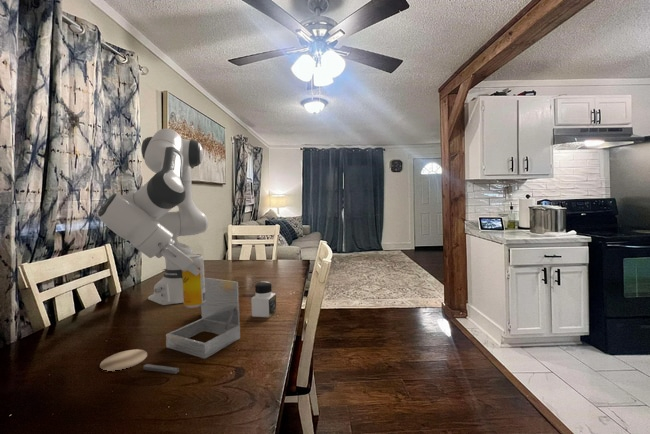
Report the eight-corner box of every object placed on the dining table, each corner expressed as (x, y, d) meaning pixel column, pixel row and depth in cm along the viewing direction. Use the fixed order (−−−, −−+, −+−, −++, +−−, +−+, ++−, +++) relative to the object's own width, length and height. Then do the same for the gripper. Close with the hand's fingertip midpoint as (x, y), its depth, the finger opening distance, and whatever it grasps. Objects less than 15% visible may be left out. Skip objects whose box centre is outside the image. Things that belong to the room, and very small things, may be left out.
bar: (143, 370, 82) (142, 366, 81) (146, 368, 83) (146, 363, 83) (175, 375, 79) (175, 370, 79) (179, 372, 80) (178, 368, 80)
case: (166, 347, 93) (163, 288, 92) (203, 329, 106) (201, 277, 105) (205, 358, 86) (202, 294, 85) (240, 338, 99) (238, 281, 98)
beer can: (187, 302, 97) (185, 254, 96) (208, 301, 98) (205, 253, 97) (180, 309, 91) (178, 258, 90) (202, 307, 92) (199, 257, 91)
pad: (90, 365, 84) (90, 364, 84) (131, 347, 94) (131, 346, 94) (115, 375, 79) (115, 373, 79) (155, 355, 89) (155, 354, 89)
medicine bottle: (269, 317, 115) (268, 285, 114) (251, 316, 116) (250, 285, 116) (276, 310, 122) (275, 280, 121) (259, 310, 123) (258, 280, 123)
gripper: (171, 236, 80) (212, 268, 87) (160, 230, 97) (195, 258, 103) (152, 255, 78) (195, 287, 84) (144, 246, 95) (181, 273, 101)
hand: (195, 271), depth 94 cm, fingers closed on beer can, 6 cm apart
